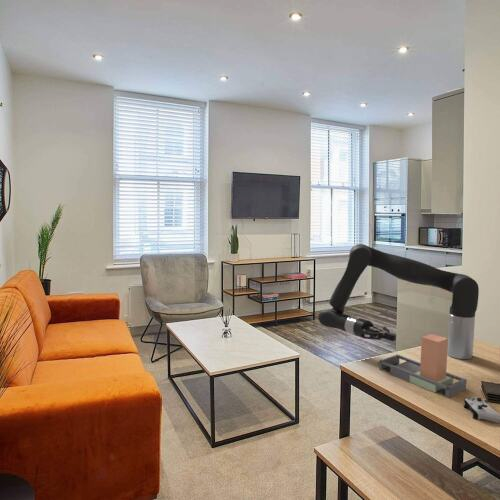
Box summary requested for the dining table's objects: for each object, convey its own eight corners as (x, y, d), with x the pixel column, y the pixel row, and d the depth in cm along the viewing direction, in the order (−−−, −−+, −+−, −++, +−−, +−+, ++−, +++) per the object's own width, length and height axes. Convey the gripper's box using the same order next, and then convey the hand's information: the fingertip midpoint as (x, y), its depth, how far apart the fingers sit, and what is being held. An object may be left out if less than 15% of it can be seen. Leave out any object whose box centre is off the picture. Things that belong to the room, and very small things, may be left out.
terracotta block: (429, 371, 142) (431, 333, 141) (445, 377, 137) (448, 338, 136) (419, 375, 139) (421, 337, 137) (436, 382, 134) (438, 342, 132)
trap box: (397, 362, 156) (397, 354, 156) (466, 388, 134) (466, 379, 134) (378, 369, 150) (379, 360, 150) (448, 397, 128) (448, 388, 128)
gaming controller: (506, 421, 113) (489, 404, 113) (489, 435, 114) (472, 418, 114) (487, 401, 124) (471, 386, 124) (471, 414, 125) (456, 398, 125)
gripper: (347, 321, 160) (383, 332, 146) (369, 315, 168) (405, 325, 154) (347, 339, 161) (383, 351, 147) (369, 332, 169) (405, 344, 154)
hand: (394, 338), depth 150 cm, fingers closed
